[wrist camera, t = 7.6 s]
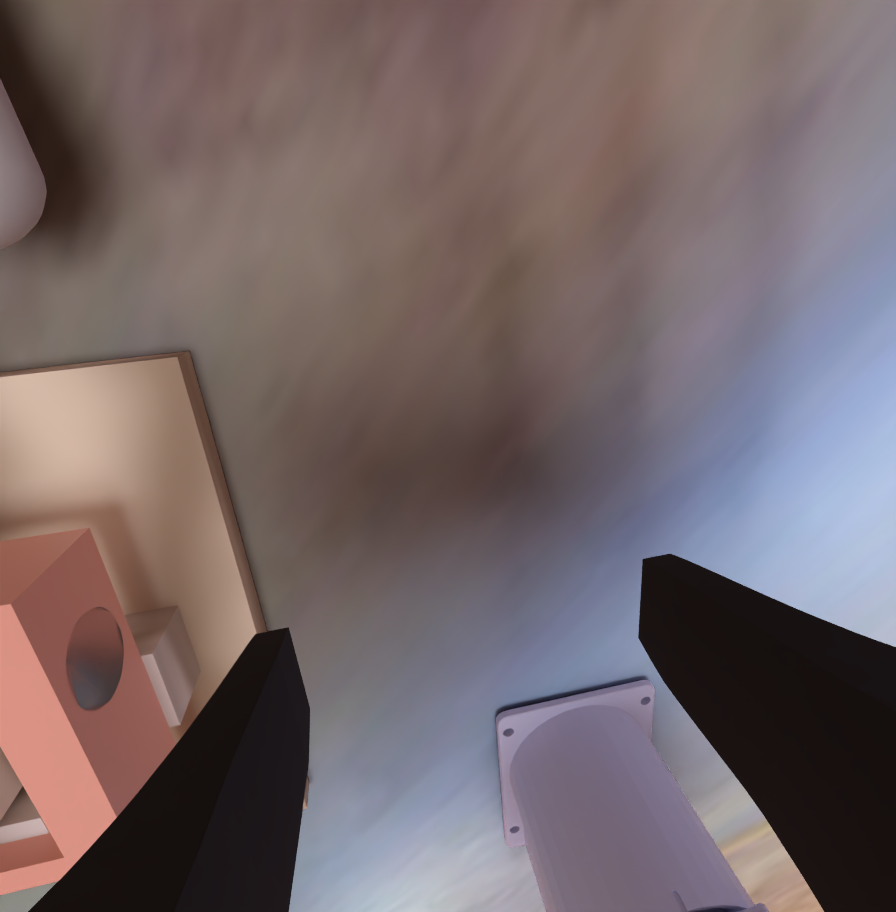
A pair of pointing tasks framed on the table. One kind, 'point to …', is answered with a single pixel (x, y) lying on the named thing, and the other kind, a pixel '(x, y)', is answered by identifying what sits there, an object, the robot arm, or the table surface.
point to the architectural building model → (132, 521)
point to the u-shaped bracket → (70, 701)
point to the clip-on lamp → (17, 178)
